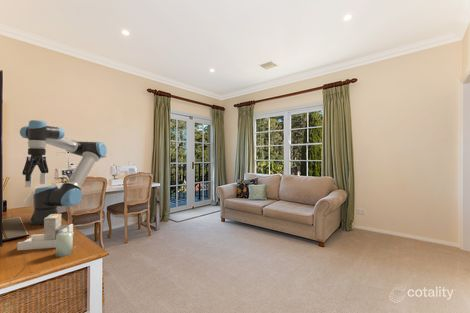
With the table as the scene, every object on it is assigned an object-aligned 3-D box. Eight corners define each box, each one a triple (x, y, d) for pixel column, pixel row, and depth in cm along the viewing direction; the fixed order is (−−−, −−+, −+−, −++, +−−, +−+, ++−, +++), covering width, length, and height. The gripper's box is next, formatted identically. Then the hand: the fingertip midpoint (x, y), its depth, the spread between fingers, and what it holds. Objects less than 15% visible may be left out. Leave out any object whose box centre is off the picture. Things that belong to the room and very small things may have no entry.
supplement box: (49, 239, 115) (50, 214, 115) (61, 238, 117) (61, 213, 117) (43, 245, 107) (43, 218, 107) (55, 244, 109) (56, 217, 109)
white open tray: (31, 241, 114) (32, 225, 114) (72, 238, 119) (73, 223, 119) (17, 250, 104) (17, 232, 104) (62, 247, 108) (63, 230, 108)
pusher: (63, 238, 117) (63, 224, 117) (76, 237, 118) (77, 223, 118) (55, 244, 109) (55, 229, 109) (69, 243, 110) (69, 228, 110)
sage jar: (59, 251, 103) (60, 232, 103) (74, 250, 105) (75, 231, 105) (52, 257, 98) (53, 236, 98) (68, 256, 99) (69, 235, 99)
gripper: (41, 148, 138) (40, 183, 138) (13, 146, 114) (12, 188, 114) (55, 148, 140) (55, 182, 140) (31, 147, 116) (30, 188, 116)
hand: (36, 185), depth 127 cm, fingers open, 13 cm apart
